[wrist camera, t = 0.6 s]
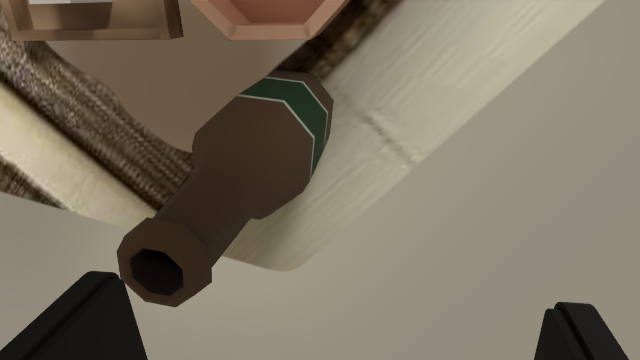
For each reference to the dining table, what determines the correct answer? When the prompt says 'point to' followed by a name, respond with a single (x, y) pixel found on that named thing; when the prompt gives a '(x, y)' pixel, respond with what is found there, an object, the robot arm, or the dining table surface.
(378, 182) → the dining table surface
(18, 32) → the walnut tray
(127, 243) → the beer bottle
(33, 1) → the white sharp-edged block
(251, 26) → the bowl
